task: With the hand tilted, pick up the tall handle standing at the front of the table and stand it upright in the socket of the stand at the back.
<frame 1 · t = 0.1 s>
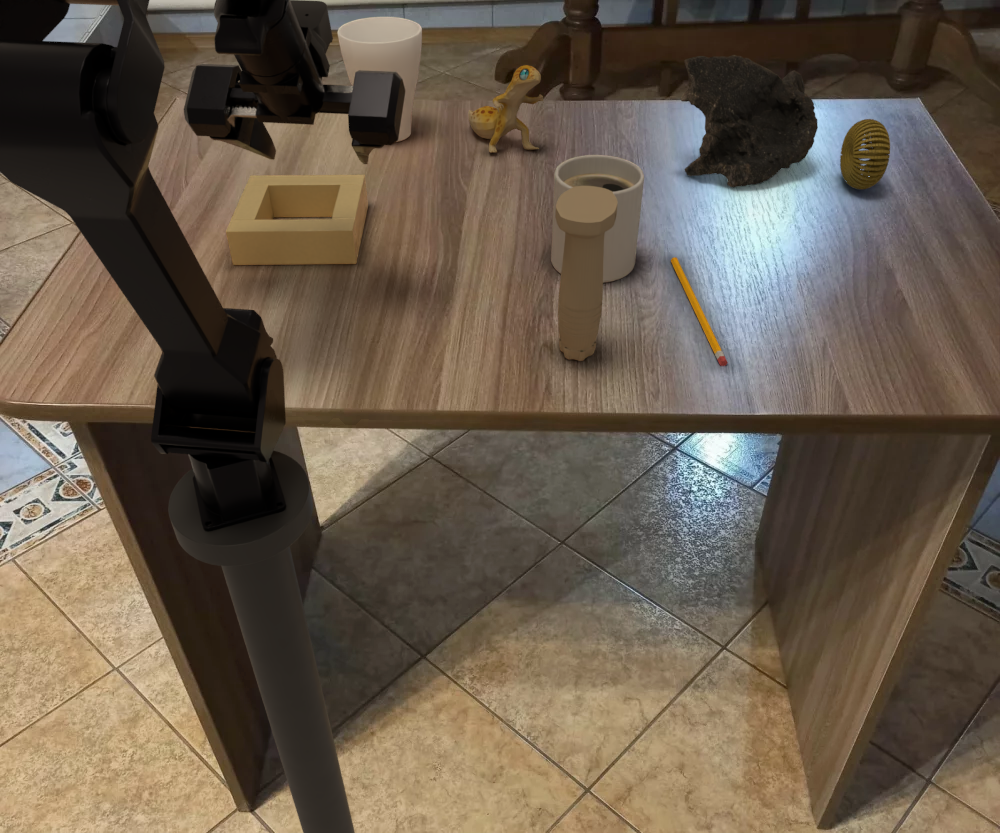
hand: (319, 157, 87), 12 cm above the table, tool tilted 35°, fingers open, 9 cm apart
cup: (388, 135, 121), on the table
stand: (303, 234, 100), on the table
rock: (738, 167, 113), on the table
toy: (493, 144, 119), on the table
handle: (576, 354, 83), on the table
pencil: (696, 312, 89), on the table
mug: (591, 258, 96), on the table
sculpture: (855, 187, 109), on the table
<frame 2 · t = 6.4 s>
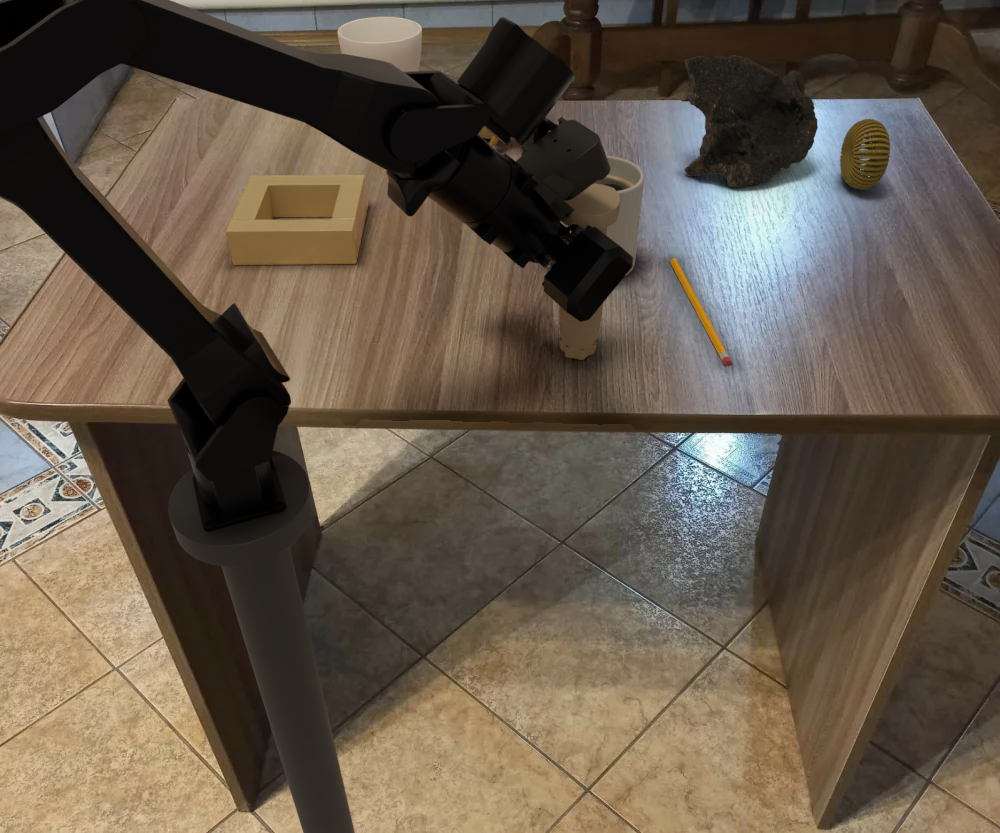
hand: (594, 277, 79), 8 cm above the table, tool tilted 45°, fingers closed on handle, 3 cm apart
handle: (577, 353, 83), on the table, touching gripper
everything else where it was.
when the fingers open (8 cm above the table, at t = 16.1 s): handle stays where it is, resting in stand.
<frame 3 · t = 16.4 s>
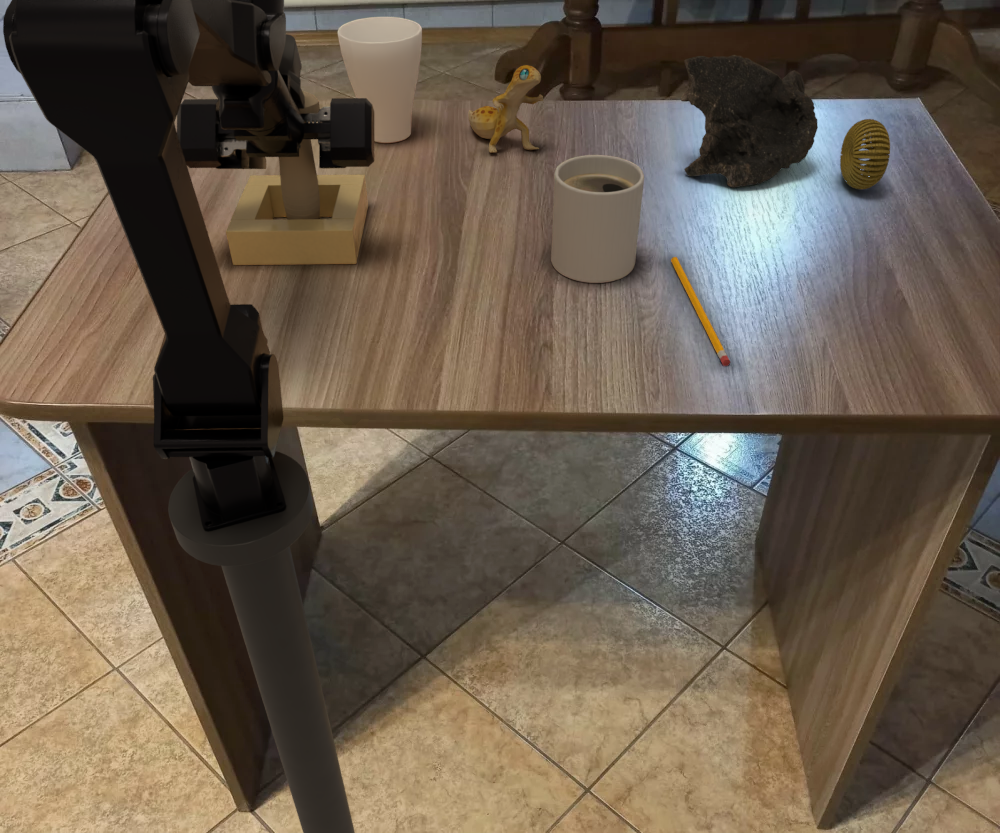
hand: (295, 164, 96), 8 cm above the table, tool tilted 45°, fingers open, 6 cm apart
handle: (305, 236, 100), resting in stand, touching gripper
everything else where it was.
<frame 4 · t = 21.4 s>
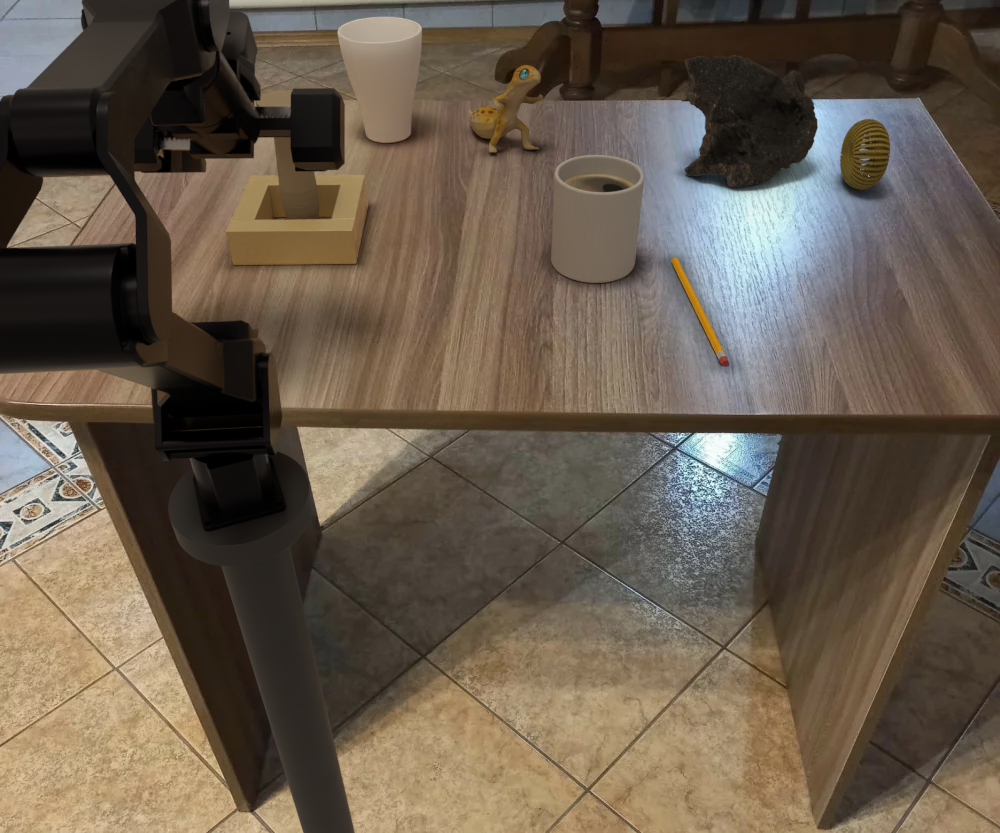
hand: (254, 166, 82), 14 cm above the table, tool tilted 45°, fingers open, 9 cm apart
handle: (306, 237, 100), resting in stand
everything else where it was.
at the end: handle 0.3 cm off-centre in the stand, point 0.0 cm above the stand's base; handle tilted 0°; the gripper is holding nothing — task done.
